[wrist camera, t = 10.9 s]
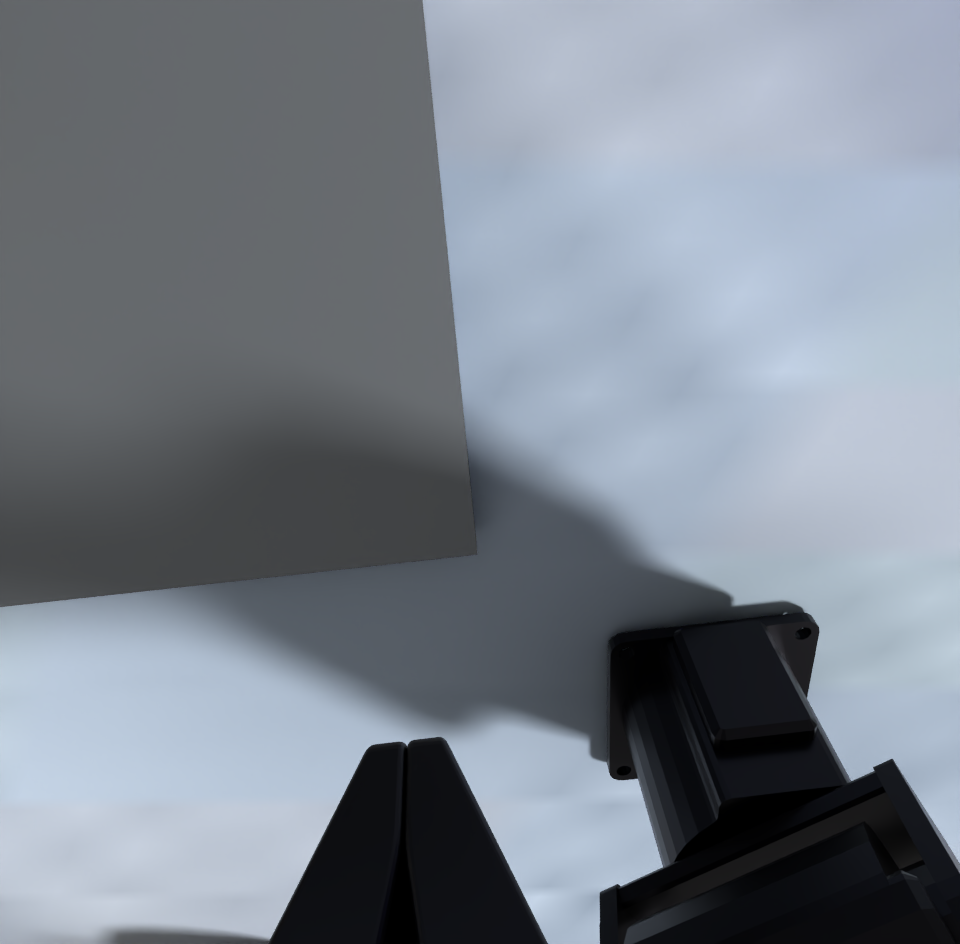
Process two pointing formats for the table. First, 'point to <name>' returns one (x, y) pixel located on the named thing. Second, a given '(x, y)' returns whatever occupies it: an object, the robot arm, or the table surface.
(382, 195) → the board
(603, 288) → the table surface
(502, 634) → the table surface
